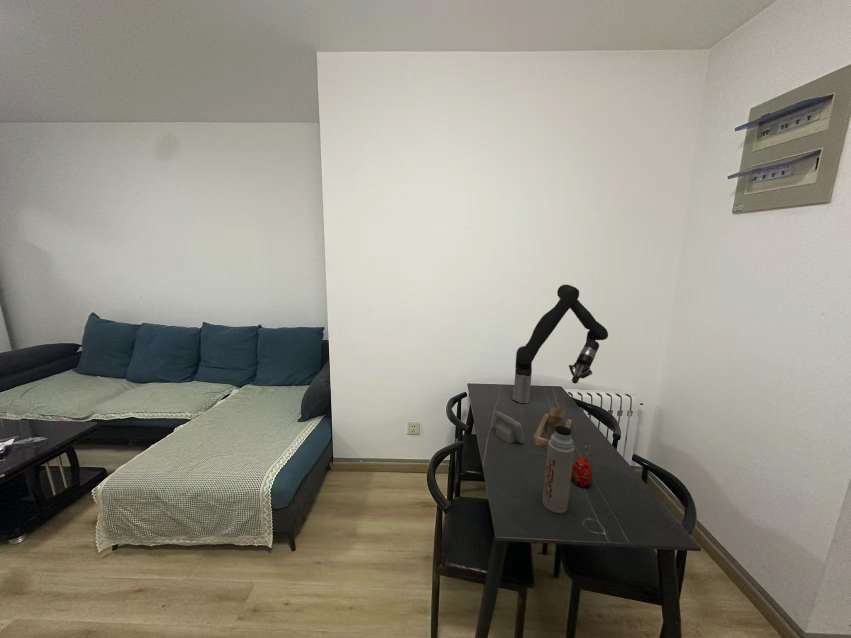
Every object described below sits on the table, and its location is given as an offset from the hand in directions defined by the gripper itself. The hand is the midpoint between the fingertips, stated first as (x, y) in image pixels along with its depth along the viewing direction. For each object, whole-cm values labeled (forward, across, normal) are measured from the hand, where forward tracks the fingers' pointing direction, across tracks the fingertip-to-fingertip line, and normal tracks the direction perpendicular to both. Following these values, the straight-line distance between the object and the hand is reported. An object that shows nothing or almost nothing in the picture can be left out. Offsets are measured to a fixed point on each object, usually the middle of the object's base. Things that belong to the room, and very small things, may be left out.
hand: (573, 382), depth 173 cm
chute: (+33, +5, -7) cm, 34 cm away
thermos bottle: (+63, +29, -37) cm, 79 cm away
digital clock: (+47, -7, -21) cm, 51 cm away
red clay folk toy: (+50, +29, -23) cm, 62 cm away
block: (+28, +3, -2) cm, 29 cm away
